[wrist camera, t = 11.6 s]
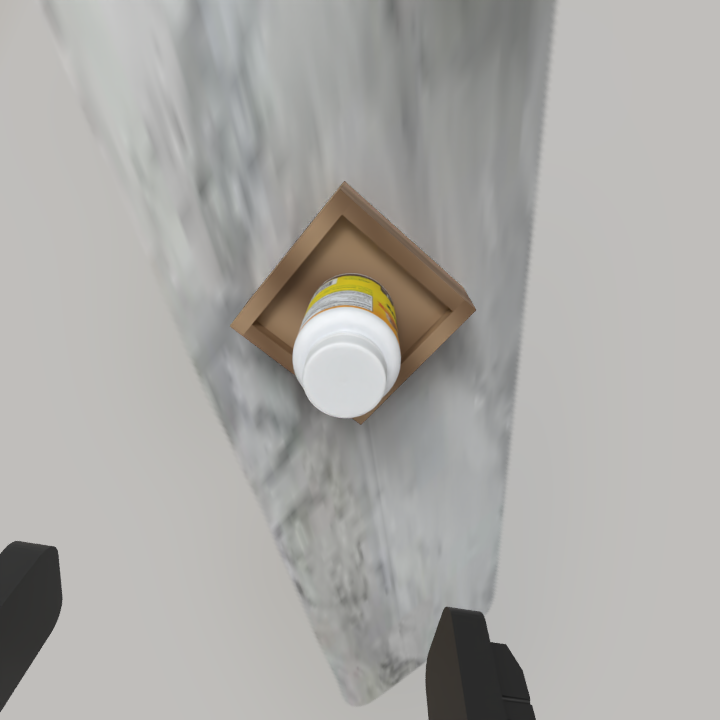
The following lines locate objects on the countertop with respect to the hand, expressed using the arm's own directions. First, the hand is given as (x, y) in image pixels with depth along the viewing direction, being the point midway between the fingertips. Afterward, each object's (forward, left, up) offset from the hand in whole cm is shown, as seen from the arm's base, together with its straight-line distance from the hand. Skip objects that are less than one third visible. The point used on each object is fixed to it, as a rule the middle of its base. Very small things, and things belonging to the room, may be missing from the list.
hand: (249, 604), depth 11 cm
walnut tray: (+1, +2, -28) cm, 28 cm away
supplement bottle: (+1, +2, -24) cm, 24 cm away
